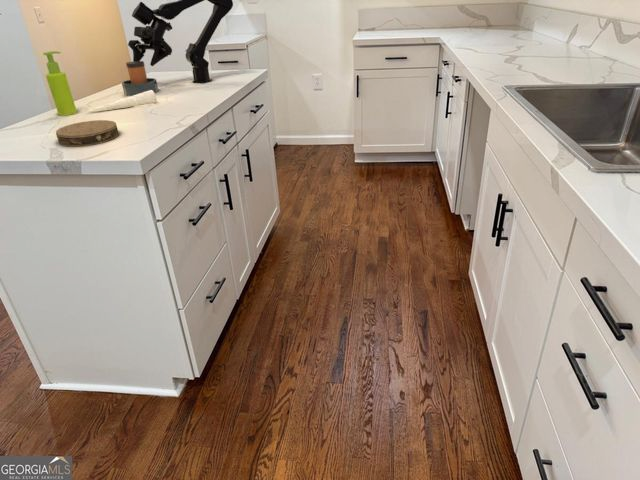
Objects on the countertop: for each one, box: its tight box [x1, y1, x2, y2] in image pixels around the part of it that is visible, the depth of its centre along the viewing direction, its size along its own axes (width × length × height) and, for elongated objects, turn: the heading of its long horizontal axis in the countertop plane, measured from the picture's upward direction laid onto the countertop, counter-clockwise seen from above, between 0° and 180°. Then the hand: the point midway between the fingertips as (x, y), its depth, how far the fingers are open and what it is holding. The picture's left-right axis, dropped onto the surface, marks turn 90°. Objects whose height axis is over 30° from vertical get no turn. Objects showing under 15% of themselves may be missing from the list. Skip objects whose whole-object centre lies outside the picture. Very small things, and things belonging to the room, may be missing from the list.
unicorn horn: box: [87, 90, 158, 113], centre depth 160 cm, size 5×24×5 cm, turn 118°
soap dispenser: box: [42, 50, 78, 116], centre depth 152 cm, size 6×7×20 cm
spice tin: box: [125, 60, 148, 84], centre depth 179 cm, size 7×7×12 cm
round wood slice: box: [55, 119, 120, 148], centre depth 128 cm, size 16×16×3 cm
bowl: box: [121, 77, 159, 97], centre depth 181 cm, size 13×13×5 cm
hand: (142, 65), depth 180 cm, fingers open, 9 cm apart
